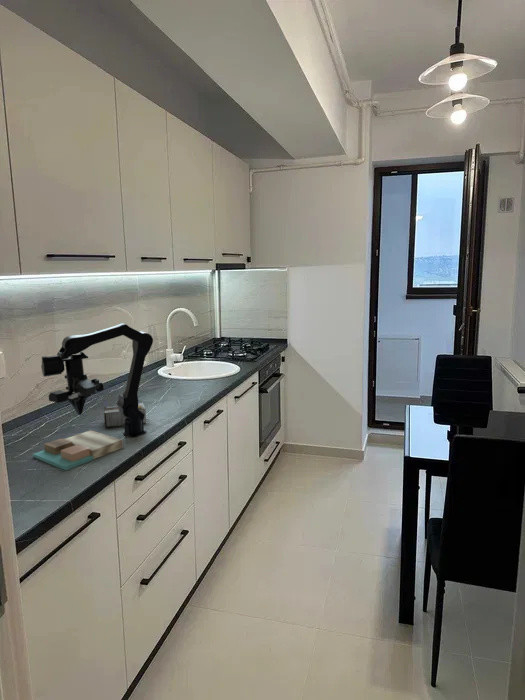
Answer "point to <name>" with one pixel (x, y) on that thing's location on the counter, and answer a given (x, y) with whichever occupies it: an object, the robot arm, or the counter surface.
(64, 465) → the mat
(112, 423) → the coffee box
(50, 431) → the counter surface
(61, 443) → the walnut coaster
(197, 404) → the counter surface
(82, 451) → the blush pink tile
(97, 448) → the deck
